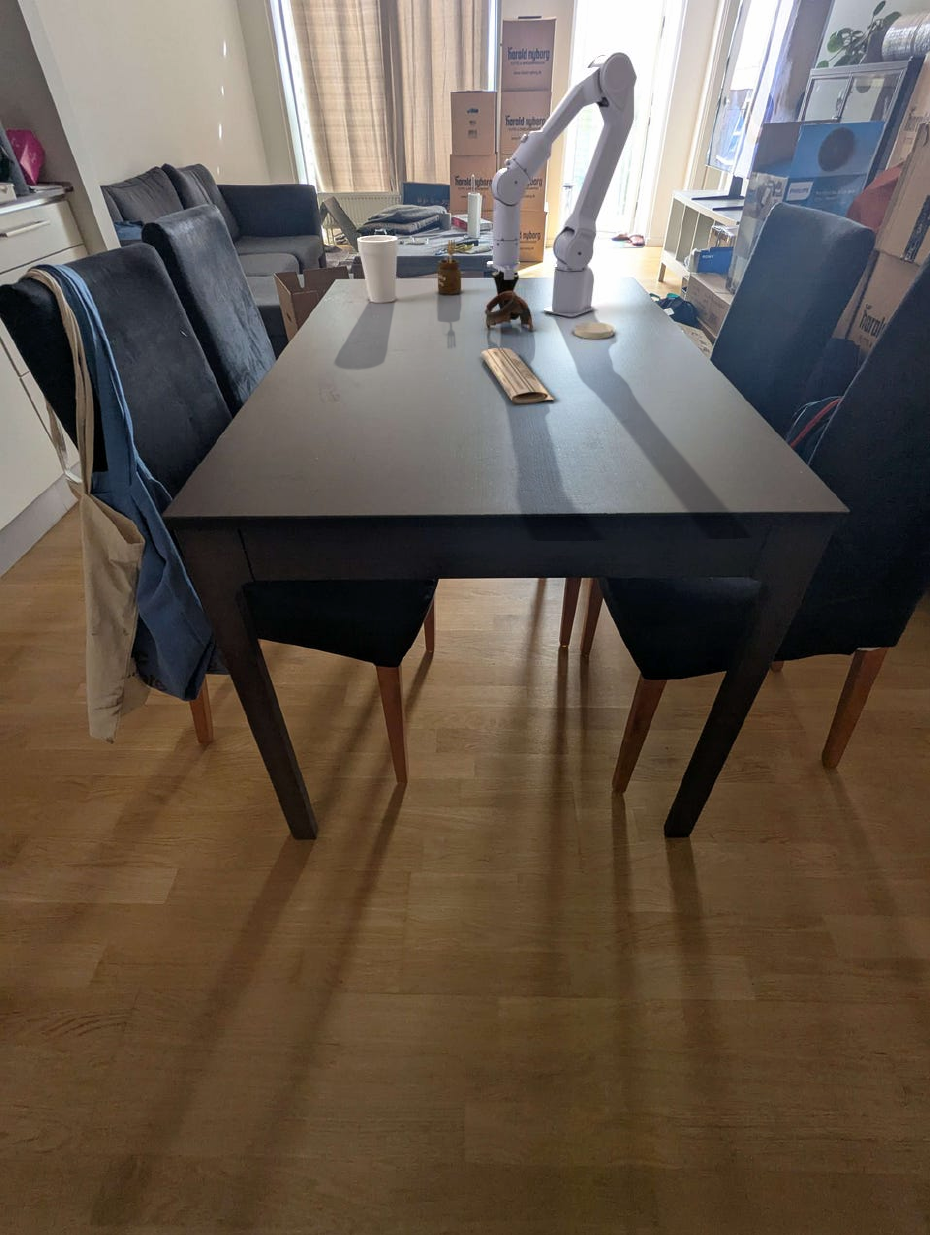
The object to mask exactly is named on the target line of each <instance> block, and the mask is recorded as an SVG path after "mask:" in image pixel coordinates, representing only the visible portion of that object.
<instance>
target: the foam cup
mask: <svg viewBox="0 0 930 1235" xmlns="http://www.w3.org/2000/svg"><path fill="white" fill-rule="evenodd" d="M398 244H399V243H398V237H397V236H394V235H378V234H375V235H367V236H361V237H358V238H357V250H358V252H359V257H360V261H361V265H362V270H363V275H364V279H365V284H366V289H367V294H368V299H369V301H370V302H371V303H377V304H383V303H384V304H385V303H391V302H394V301H396V291H397V289H396V288H397V267H398V266H397V264H398V251H399V247H398Z"/></svg>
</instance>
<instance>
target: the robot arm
mask: <svg viewBox="0 0 930 1235" xmlns="http://www.w3.org/2000/svg"><path fill="white" fill-rule="evenodd" d="M637 79H638V76H637V74H636V71H635V67H634V64H633V63H632V60H631V58H630V57H629V55H627V54H626V53H624V52H621V51H618V52H613V53H611V54H607V55H606V54H600V55H597V56H595V57H594V58H593V59H592V60H591V61H590V62H589V64H588V65H587V67H586V68H584V69H583V70H582V71H581V72H580V73H579V74H578V76H577V77H576V79H575V80H574V82H573V83H572V84H571V86H570V87H569V88H568V89H567V91H566V93H565V94H564V95H563V97H562V99H561V100H560V101H559V102H558V104H557V105H556V107H555V109H554V110H553V111H552V112H551V114H550V116H549V117H548V119H547V120H546V121H545V123H544V124H543V126H542V127H541V128H540V130H531V131H529V133H528V134H523V135H522V137H520V139H519V141H520V142H521V143H520V145H518V147H517V149H516V150H515V152H514V153H513V154H512V156H510V158H506V159H505V161H504V162H503V165H504V166H505V167H504V168H502V169H499V170H498V171H496V173H495V174H494V176H493V178H492V182H491V184H490V185H489V187H490V188H489V189H490V194H491V195H492V198H494V199H493V213H492V261H487V262H486V267H487V268H493V269H495V270H497V271H496V272H491V275H492V278H493V280H494V284H495V289H496V296H497V295H498V294H500V293H503V292H506V291H513V292H515V287H516V285H517V283H518V281H519V278H520V276H519V272H518V271H517V270H518V269H519V268H520V265H521V262H520V249H521V248H520V246H521V244H520V242H521V223H522V222H521V221H522V220H521V217H522V213H521V208H522V199H524V198H525V195H526V192H527V186H528V185H530V183H531V182H533V180H534V179H535V177H536V176H537V174H538V173H539V172H540V170H541V169H542V168H543V167H544V165H545V164H546V163H547V162H548V160H549V159H550V158H551V156H552V148H553V143H554V142H555V141H556V140H557V139H558V138H559V137H560V135H561V134H562V133H563V132H564V131H565V129H566V128H567V127H568V126H569V125H570V124H571V122H572V121H573V120H574V119H575V117H577V115H578V114H579V113H580V112H581V110H582V109H584V108H585V107H587V106H590V105H593V104H596V105H597V106H598V109H599V113H600V115H601V117H602V121H603V125H602V129H601V132H600V134H599V137H598V140H597V143H596V146H595V148H594V151H593V154H592V157H591V160H590V163H589V165H588V168H587V172H586V174H585V177H584V180H583V182H582V185H581V188H580V191H579V193H578V197H577V199H576V202H575V204H574V208H573V210H572V213H571V214H570V216H569V217H568V218H567V219H566V220H565V222H564V225H563V227H562V229H561V231H560V232H559V233H558V234H557V235H556V237H555V239H554V240H553V244H552V252H553V255H554V258H555V259H556V262H555V265H554V272H553V284H552V285H553V287H552V298H551V301H552V302H551V306H550V307H547V308H544V309H543V312H544V313H549V314H553V315H559V316H562V317H563V316H564V317H568V318H574V317H576V316H580V315H582V314H585V313H587V312H590V311H594V309H595V306H592V302H593V292H594V284H595V275H594V272H593V270H592V268H591V267H589V264H590V263H591V261H592V259H593V256H594V242H595V239H596V237H597V226H596V225H597V224H596V222H597V220H598V217H599V214H600V211H601V209H602V206H603V203H604V201H605V198H606V195H607V193H608V190H609V187H610V185H611V182H612V180H613V177H614V175H615V172H616V169H617V167H618V164H619V161H620V159H621V155H622V153H623V150H624V148H625V145H626V143H627V139H628V137H629V134H630V132H631V129H632V127H633V124H634V120H635V85H636V83H637ZM498 307H499V309H501V308H503V307H504V306H503V301H501V303H499V304H498Z"/></svg>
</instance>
